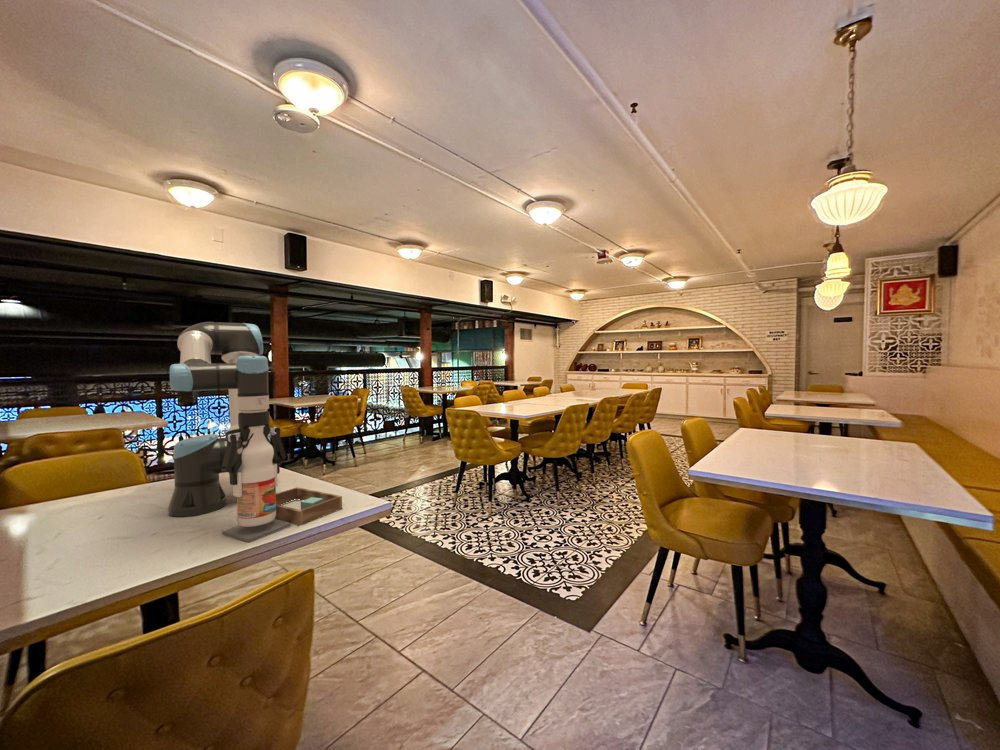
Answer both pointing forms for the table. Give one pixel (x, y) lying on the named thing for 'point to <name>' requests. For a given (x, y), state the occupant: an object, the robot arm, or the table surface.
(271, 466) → the fruit juice
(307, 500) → the teal block
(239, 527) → the slate coaster
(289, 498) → the brown wooden tray
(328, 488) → the table surface
